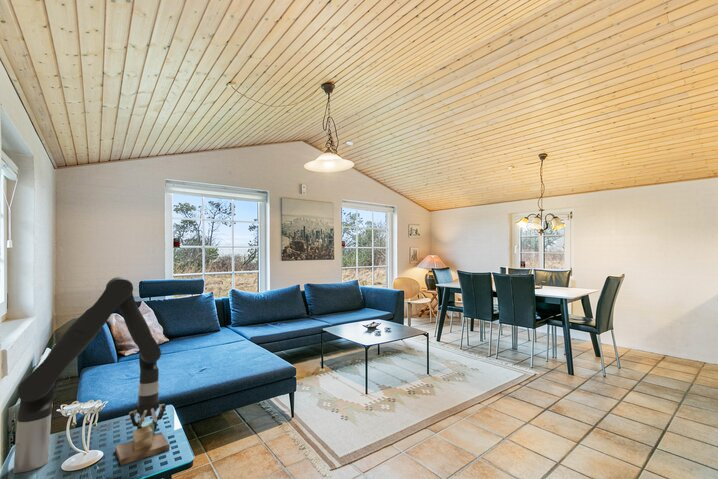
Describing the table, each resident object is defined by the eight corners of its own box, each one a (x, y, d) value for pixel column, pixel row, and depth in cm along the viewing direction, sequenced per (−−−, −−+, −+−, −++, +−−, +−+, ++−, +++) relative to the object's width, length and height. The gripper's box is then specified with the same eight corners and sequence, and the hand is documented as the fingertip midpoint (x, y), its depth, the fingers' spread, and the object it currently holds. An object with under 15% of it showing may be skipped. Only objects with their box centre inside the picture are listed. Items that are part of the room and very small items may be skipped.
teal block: (141, 438, 144) (142, 427, 145) (139, 434, 148) (140, 423, 148) (153, 434, 147) (154, 424, 148) (151, 431, 151) (151, 420, 151)
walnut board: (120, 465, 125) (121, 459, 125) (115, 451, 135) (115, 445, 135) (169, 449, 136) (169, 444, 136) (161, 437, 146) (161, 432, 146)
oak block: (135, 450, 132) (136, 435, 132) (132, 444, 136) (133, 430, 136) (151, 445, 135) (152, 430, 136) (148, 439, 139) (149, 425, 140)
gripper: (130, 398, 141) (128, 441, 140) (169, 390, 151) (167, 430, 150) (127, 393, 147) (125, 435, 146) (164, 385, 156) (163, 424, 155)
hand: (146, 432), depth 148 cm, fingers closed on teal block, 4 cm apart
